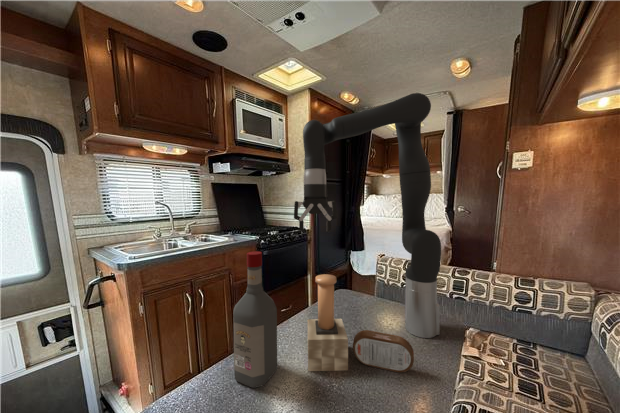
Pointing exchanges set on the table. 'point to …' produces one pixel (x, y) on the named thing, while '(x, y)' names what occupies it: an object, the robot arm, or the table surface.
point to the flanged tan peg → (325, 301)
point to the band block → (327, 347)
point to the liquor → (255, 329)
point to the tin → (383, 351)
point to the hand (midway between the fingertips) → (315, 231)
